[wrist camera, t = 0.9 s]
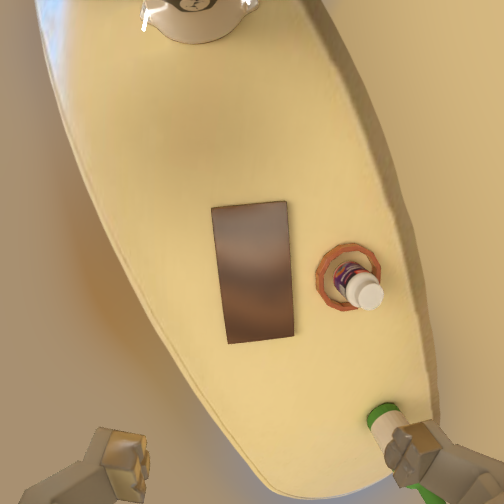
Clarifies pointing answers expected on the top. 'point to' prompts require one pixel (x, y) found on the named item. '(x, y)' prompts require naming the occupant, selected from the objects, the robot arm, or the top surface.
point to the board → (254, 270)
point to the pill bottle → (358, 285)
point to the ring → (325, 263)
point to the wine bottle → (382, 428)
